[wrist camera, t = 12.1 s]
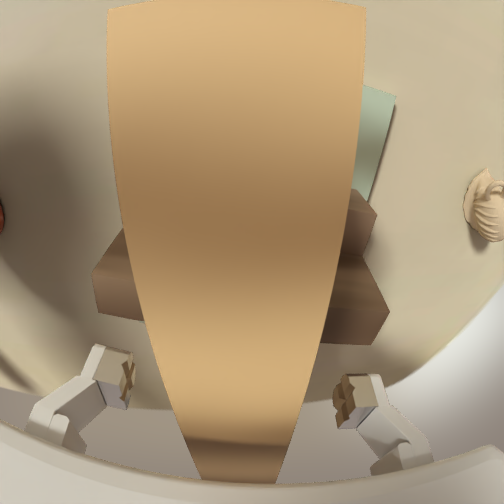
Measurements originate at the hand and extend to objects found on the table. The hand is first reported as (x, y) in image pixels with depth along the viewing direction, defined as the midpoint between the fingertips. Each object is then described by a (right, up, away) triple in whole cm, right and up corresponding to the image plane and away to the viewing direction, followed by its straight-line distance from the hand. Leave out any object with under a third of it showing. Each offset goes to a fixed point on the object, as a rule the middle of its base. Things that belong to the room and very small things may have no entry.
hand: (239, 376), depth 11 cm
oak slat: (0, +2, +3) cm, 3 cm away
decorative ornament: (+20, +9, +10) cm, 24 cm away
